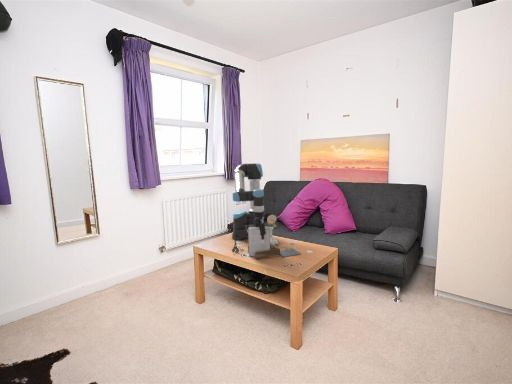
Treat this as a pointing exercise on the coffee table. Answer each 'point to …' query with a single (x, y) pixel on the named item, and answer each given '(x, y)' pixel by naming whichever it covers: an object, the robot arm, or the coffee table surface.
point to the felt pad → (289, 252)
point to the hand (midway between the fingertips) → (259, 241)
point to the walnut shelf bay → (267, 252)
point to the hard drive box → (258, 240)
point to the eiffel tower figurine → (236, 248)
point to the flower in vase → (272, 220)
